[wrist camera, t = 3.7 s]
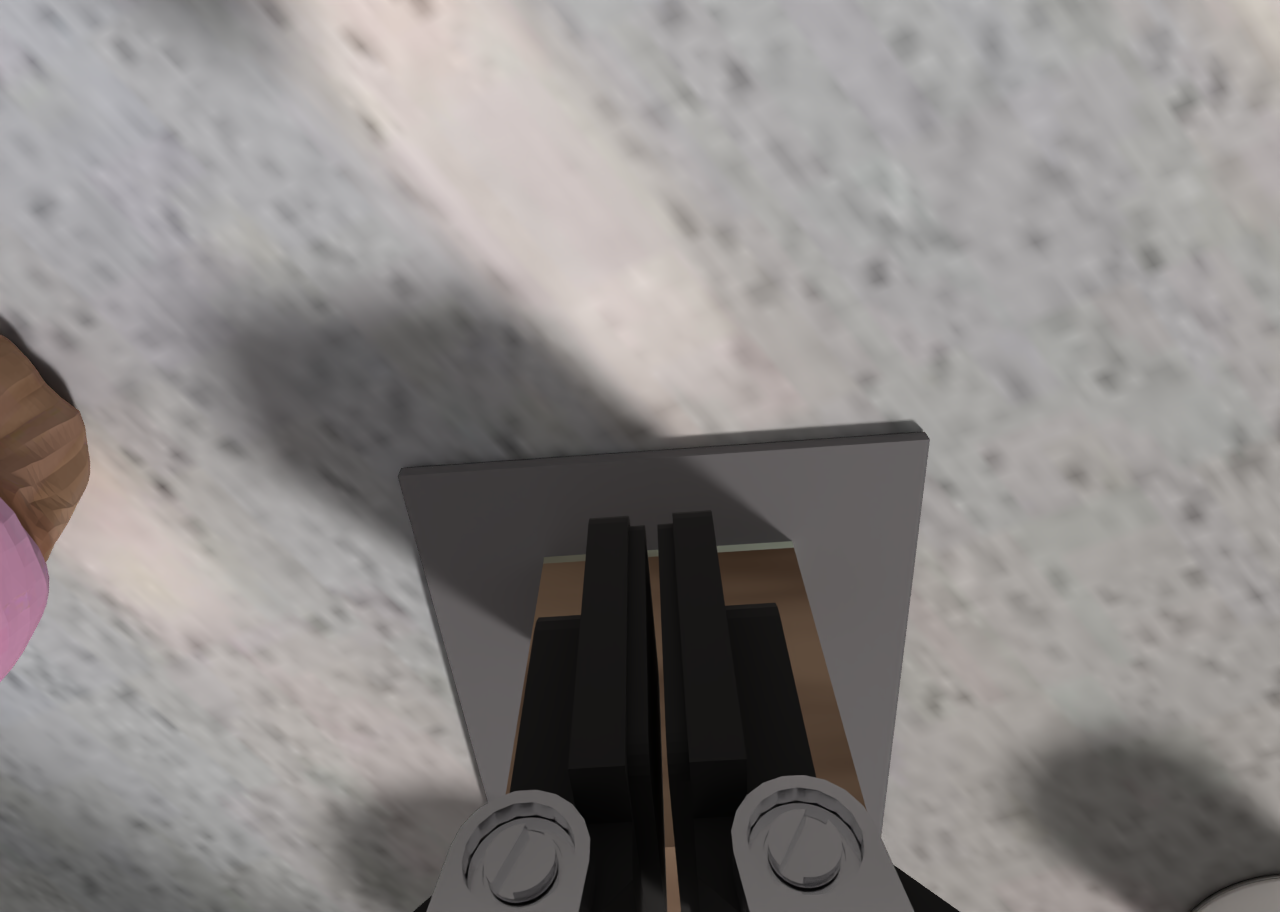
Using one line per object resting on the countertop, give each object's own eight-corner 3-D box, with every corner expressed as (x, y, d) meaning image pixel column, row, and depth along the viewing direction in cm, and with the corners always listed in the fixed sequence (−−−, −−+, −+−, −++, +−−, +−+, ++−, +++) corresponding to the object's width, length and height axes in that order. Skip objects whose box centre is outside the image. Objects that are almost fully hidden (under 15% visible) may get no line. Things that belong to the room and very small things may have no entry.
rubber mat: (875, 846, 30) (878, 856, 30) (509, 865, 31) (507, 875, 30) (925, 432, 21) (929, 439, 21) (401, 468, 22) (397, 476, 21)
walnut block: (789, 646, 24) (860, 954, 17) (562, 659, 25) (527, 969, 17) (792, 540, 22) (874, 836, 15) (544, 557, 23) (495, 856, 15)
